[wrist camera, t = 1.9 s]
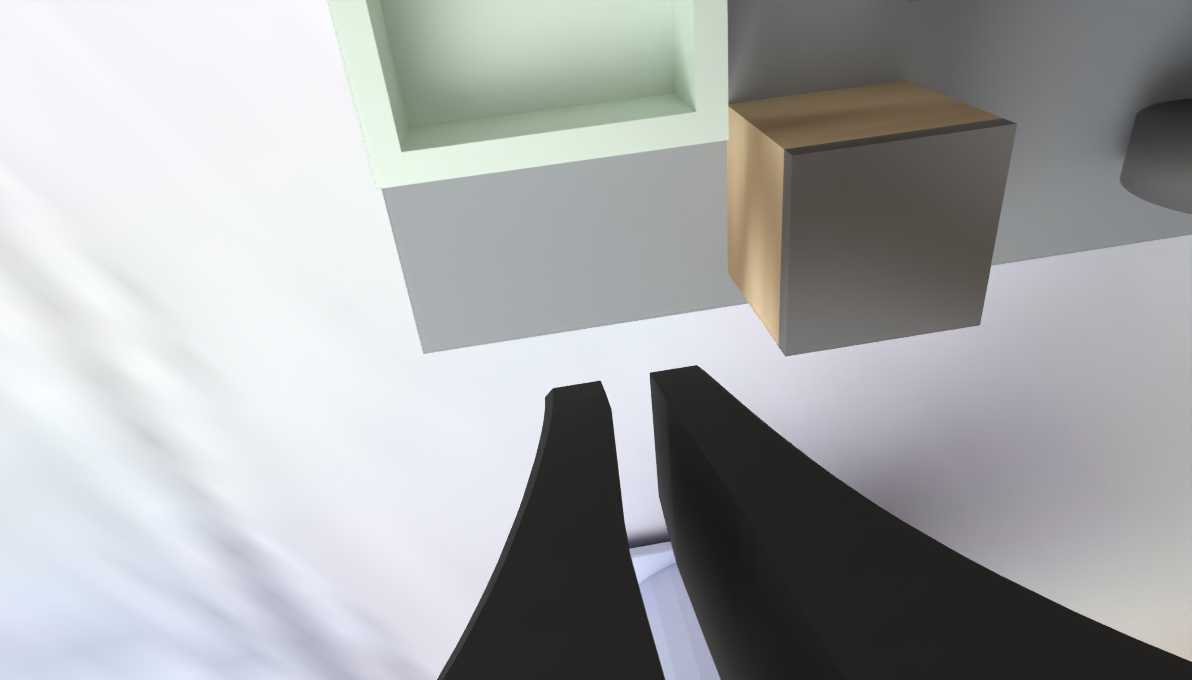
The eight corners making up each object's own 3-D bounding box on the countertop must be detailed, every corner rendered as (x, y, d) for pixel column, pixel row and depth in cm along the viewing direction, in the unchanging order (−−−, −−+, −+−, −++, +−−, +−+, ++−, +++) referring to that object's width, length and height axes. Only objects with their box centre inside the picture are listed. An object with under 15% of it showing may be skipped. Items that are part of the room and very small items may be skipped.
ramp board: (1299, 195, 21) (1403, 231, 18) (426, 329, 19) (419, 388, 17) (1543, -423, 14) (1749, -487, 12) (270, -302, 13) (224, -350, 10)
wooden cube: (887, 249, 18) (979, 324, 15) (727, 273, 18) (785, 356, 15) (905, 79, 16) (1017, 123, 13) (726, 104, 16) (792, 155, 13)
